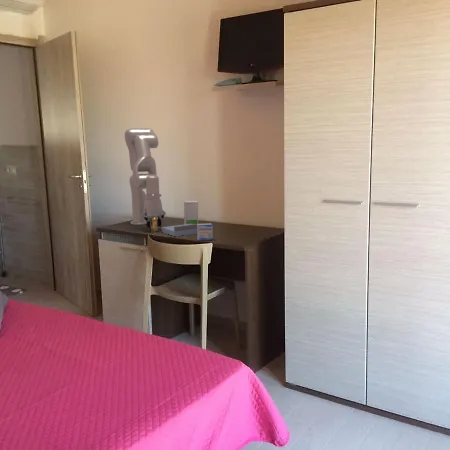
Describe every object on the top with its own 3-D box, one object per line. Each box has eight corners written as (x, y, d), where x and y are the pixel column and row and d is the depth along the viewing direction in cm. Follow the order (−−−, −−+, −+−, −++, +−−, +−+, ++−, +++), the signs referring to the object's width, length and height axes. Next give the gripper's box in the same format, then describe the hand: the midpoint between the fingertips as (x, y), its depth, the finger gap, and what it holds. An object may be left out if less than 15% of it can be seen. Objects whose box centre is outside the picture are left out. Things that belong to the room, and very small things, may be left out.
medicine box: (198, 241, 278) (198, 225, 276) (197, 239, 282) (196, 223, 281) (213, 240, 280) (212, 224, 278) (211, 238, 284) (210, 222, 282)
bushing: (148, 231, 308) (147, 217, 306) (156, 230, 311) (156, 216, 309) (152, 232, 304) (151, 218, 302) (160, 231, 306) (159, 218, 305)
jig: (161, 232, 303) (161, 223, 302) (191, 228, 314) (191, 219, 313) (174, 236, 290) (173, 227, 289) (205, 232, 300) (205, 223, 299)
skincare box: (185, 227, 318) (184, 202, 316) (184, 225, 325) (183, 200, 322) (198, 226, 320) (198, 201, 317) (197, 224, 326) (196, 200, 324)
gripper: (163, 195, 311) (164, 224, 314) (136, 197, 302) (138, 227, 305) (169, 196, 305) (170, 226, 308) (141, 198, 296) (143, 229, 299)
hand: (154, 226), depth 307 cm, fingers open, 6 cm apart
